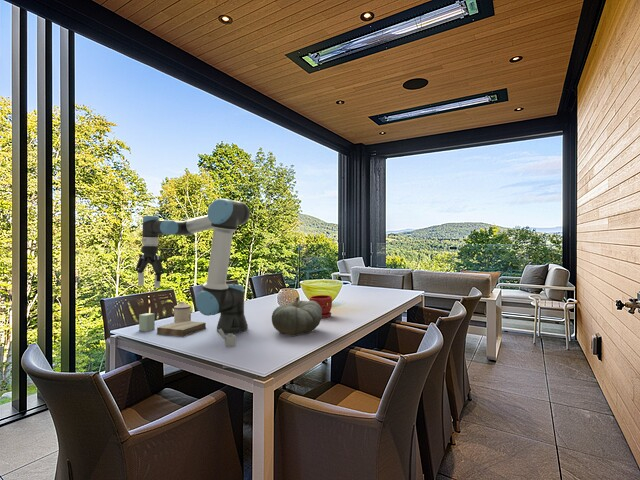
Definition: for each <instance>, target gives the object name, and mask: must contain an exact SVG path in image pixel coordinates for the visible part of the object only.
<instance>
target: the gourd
mask: <svg viewBox="0 0 640 480" xmlns="http://www.w3.org/2000/svg"><path fill="white" fill-rule="evenodd" d="M299 298H300V297H296V298H295V300H294V301H293V302H291V303H289V304H282V305H279V306H277V307H276V308H275V309H274V310H273V312H272V313H271V324H272V326H273V328H274V329H275V330H276V331H277V332H278V333H280V334H282V335H288V336H291V337H295V336H298V335H302V334H303V335H305V334H308V333H311V332H313V331H314V330H315V329H316V328H317V327H318V326H319V325H320V323H321V320H322V319H323V318H322V309H321V307H320V305H319V304H318V303H317V302H316V301H310V300H299Z"/></svg>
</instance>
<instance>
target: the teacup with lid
mask: <svg viewBox="0 0 640 480" xmlns="http://www.w3.org/2000/svg"><path fill="white" fill-rule="evenodd" d="M173 310H174V311H173V315H174V316H173V323H174V322H178V321H192V313H191V312H192V311H191V310H192V305H190V304H189V303H186V302H185V301H184V300H183V301H180V303H178V304H177V305H174V307H173Z"/></svg>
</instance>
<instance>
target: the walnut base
mask: <svg viewBox="0 0 640 480" xmlns="http://www.w3.org/2000/svg"><path fill="white" fill-rule="evenodd" d="M206 327H207V326H206V322H202V321H192V320H191V321H178V322H174V321H173V322H172V323H168V324H164V325H161V326H157V328H156V334H157V335H167V336H176V337H177V336H178V337H186V336H187V335H191V334H194V333H197V332H200V331H204V330H205V329H206Z"/></svg>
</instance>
